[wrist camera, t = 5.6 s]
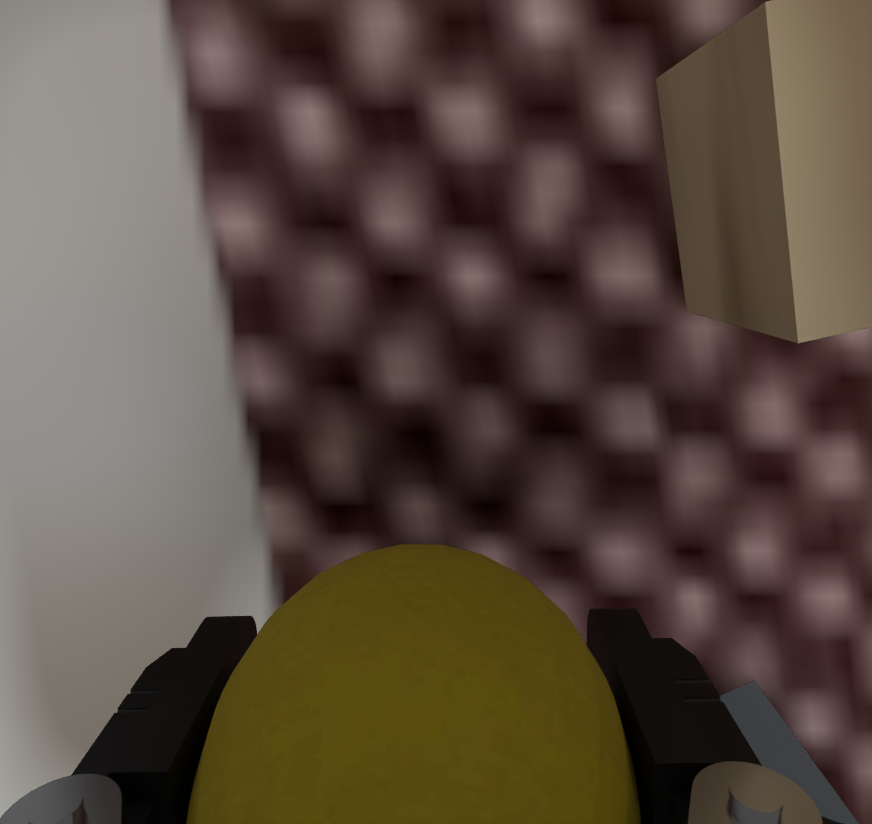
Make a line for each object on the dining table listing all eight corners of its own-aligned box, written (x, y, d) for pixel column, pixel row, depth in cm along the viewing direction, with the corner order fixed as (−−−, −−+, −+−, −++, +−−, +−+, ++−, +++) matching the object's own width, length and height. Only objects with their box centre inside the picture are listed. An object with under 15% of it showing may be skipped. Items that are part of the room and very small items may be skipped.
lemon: (276, 729, 14) (57, 1369, 6) (282, 462, 12) (11, 836, 5) (554, 748, 14) (699, 1407, 6) (590, 485, 12) (836, 894, 5)
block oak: (891, 23, 14) (1124, -86, 10) (905, 262, 16) (1118, 273, 11) (654, 80, 15) (765, 1, 10) (685, 310, 16) (797, 343, 11)
